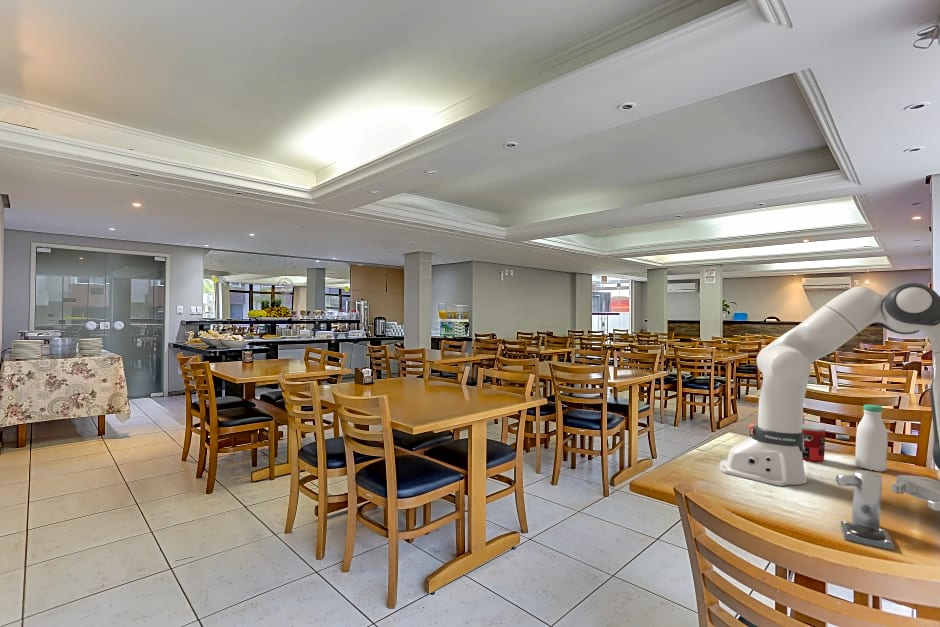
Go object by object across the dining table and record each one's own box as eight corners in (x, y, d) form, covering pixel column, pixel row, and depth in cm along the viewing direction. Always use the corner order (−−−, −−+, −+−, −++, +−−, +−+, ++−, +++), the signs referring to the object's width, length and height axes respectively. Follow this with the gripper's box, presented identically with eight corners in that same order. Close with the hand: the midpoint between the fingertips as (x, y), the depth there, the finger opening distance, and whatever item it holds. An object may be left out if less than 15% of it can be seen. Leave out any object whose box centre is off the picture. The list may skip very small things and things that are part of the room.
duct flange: (844, 540, 103) (845, 533, 103) (840, 526, 110) (840, 519, 110) (893, 550, 99) (894, 543, 99) (886, 535, 106) (886, 529, 106)
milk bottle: (886, 474, 147) (888, 409, 147) (854, 467, 153) (856, 405, 152) (886, 468, 153) (889, 405, 153) (855, 462, 158) (858, 402, 158)
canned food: (790, 454, 165) (791, 423, 165) (815, 456, 164) (816, 424, 164) (802, 462, 157) (803, 428, 157) (829, 463, 156) (830, 430, 156)
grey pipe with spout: (867, 521, 113) (869, 470, 113) (886, 530, 108) (888, 478, 108) (829, 519, 113) (831, 469, 113) (846, 529, 108) (848, 476, 108)
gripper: (929, 469, 121) (874, 467, 121) (1022, 502, 100) (955, 500, 101) (928, 494, 121) (873, 492, 121) (1021, 532, 101) (954, 530, 101)
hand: (911, 496), depth 111 cm, fingers open, 8 cm apart
